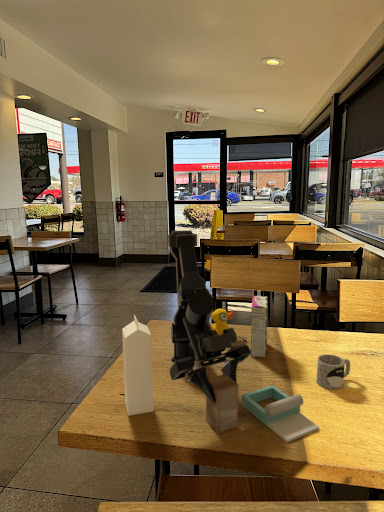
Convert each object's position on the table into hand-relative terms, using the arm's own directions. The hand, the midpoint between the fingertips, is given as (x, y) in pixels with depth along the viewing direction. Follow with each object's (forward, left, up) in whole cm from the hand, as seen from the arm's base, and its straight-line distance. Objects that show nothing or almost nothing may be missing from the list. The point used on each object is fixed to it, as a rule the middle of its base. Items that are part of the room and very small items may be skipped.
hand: (225, 399), depth 79 cm
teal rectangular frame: (+9, +9, -7) cm, 15 cm away
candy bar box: (-5, +41, -7) cm, 42 cm away
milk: (-21, -2, -7) cm, 22 cm away
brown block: (-1, +1, -7) cm, 7 cm away
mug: (+19, +31, -7) cm, 37 cm away
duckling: (-21, +45, -7) cm, 50 cm away
